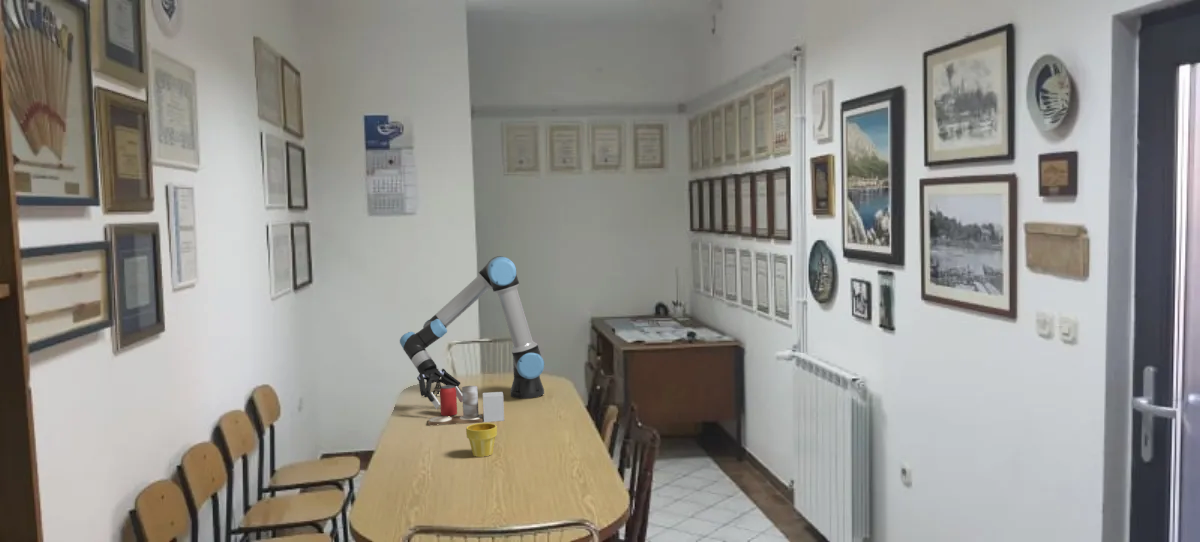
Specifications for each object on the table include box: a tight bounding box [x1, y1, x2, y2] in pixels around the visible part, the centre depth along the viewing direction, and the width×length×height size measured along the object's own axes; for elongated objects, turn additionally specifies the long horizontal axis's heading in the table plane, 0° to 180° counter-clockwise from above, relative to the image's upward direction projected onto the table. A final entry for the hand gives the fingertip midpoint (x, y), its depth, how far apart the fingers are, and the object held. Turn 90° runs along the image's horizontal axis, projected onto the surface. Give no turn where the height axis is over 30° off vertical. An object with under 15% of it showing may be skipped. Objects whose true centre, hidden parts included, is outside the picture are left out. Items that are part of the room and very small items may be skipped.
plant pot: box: [465, 422, 498, 458], centre depth 294 cm, size 10×10×10 cm
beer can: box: [439, 384, 458, 416], centre depth 354 cm, size 7×7×12 cm
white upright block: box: [482, 391, 505, 423], centre depth 345 cm, size 8×8×10 cm
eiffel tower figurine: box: [432, 368, 442, 394], centre depth 397 cm, size 15×10×13 cm
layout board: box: [427, 385, 484, 426], centre depth 342 cm, size 21×9×13 cm, turn 98°
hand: (450, 403), depth 353 cm, fingers open, 13 cm apart
